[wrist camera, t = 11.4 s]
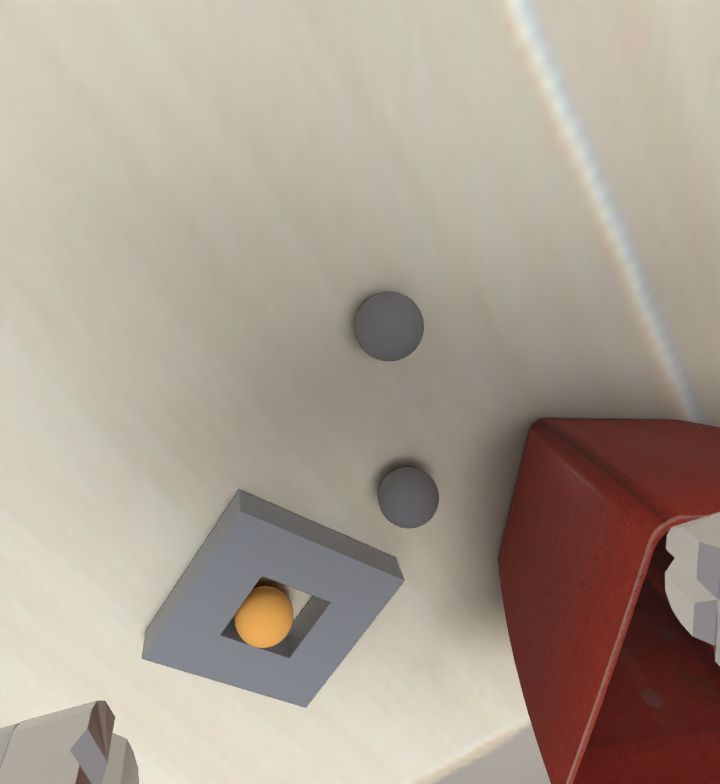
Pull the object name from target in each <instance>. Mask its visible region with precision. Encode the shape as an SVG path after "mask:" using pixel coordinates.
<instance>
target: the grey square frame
mask: <svg viewBox="0 0 720 784" xmlns="http://www.w3.org/2000/svg"><path fill="white" fill-rule="evenodd" d="M261 576H264V577H266V578H269V579H271V580H274V581H277V582H279V583H282V584H285V585H287V586H290V587H292V588H295V589H298V590H300V591H303V592H305V593H308V594H311V595H313V596H312V598H311V599H310V600H309V602H308V603H307V604H306V606H305V607H304V608H303V610H302V611H301V612H300V614H299V615H298V617H297V618H296V619H295V621H294V622H293V623H292V626H291V629H290V631H289V633H288V634H287V636H286V637H285V638H284V639H283V640H282V641H280V642H279V643H278V644H276V645H274V646H271V647H267V648H258V647H254V646H251V645H249V644H248V643H246V642H245V641H244V640H243V639H242V638H241V637H240V635H239V634H238V632H237V630H236V626H235V613H236V612H237V610H238V609H239V608H240V606H241V605H242V603H243V602H244V600H245V599H246V598H247V596H248V595H249V593H250V592H251V590H252V589H253V588H254V586H255V585H256V583H257V582H258V580H259V579H260V578H261ZM404 581H405V580H404V578H403V575H402V572H401V570H400V567H399V565H398V562H397V560H396V558H395V557H393V556H391V555H388V554H386V553H384V552H381V551H379V550H377V549H374V548H372V547H370V546H368V545H365V544H363V543H361V542H358V541H356V540H354V539H352V538H349V537H347V536H345V535H342V534H340V533H338V532H336V531H333V530H331V529H329V528H326V527H324V526H322V525H320V524H317V523H315V522H313V521H310V520H308V519H306V518H303V517H301V516H299V515H297V514H294V513H292V512H290V511H287V510H285V509H283V508H281V507H278V506H276V505H274V504H271V503H269V502H267V501H265V500H262V499H260V498H258V497H255V496H253V495H251V494H249V493H246V492H244V491H242V490H238V492H237V493H236V495H235V496H234V498H233V499H232V501H231V502H230V504H229V505H228V507H227V508H226V510H225V511H224V513H223V514H222V516H221V517H220V519H219V520H218V522H217V523H216V525H215V527H214V528H213V530H212V531H211V533H210V534H209V536H208V537H207V539H206V540H205V542H204V543H203V545H202V546H201V548H200V549H199V551H198V552H197V554H196V555H195V557H194V558H193V560H192V561H191V563H190V564H189V566H188V567H187V569H186V570H185V572H184V573H183V575H182V576H181V578H180V579H179V581H178V583H177V584H176V586H175V587H174V589H173V590H172V592H171V593H170V595H169V596H168V598H167V599H166V601H165V602H164V604H163V605H162V607H161V608H160V610H159V611H158V613H157V614H156V616H155V617H154V619H153V620H152V622H151V623H150V625H149V626H148V628H147V629H146V631H145V638H144V645H143V652H142V659H144V660H148V661H151V662H154V663H158V664H161V665H165V666H168V667H171V668H175V669H178V670H181V671H185V672H188V673H191V674H195V675H198V676H201V677H205V678H208V679H211V680H215V681H218V682H221V683H225V684H228V685H231V686H235V687H238V688H241V689H245V690H248V691H251V692H255V693H258V694H262V695H265V696H268V697H272V698H275V699H278V700H282V701H285V702H288V703H292V704H295V705H298V706H302V707H305V708H306V707H307V706H308V704H309V703H310V702H311V701H312V699H313V698H314V697H315V695H316V694H317V693H318V692H319V690H320V689H321V688H322V686H323V685H324V684H325V683H326V681H327V680H328V679H329V677H330V676H331V675H332V674H333V672H334V671H335V670H336V668H337V667H338V666H339V665H340V663H341V662H342V661H343V659H344V658H345V657H346V656H347V654H348V653H349V652H350V650H351V649H352V648H353V646H354V645H355V644H356V643H357V641H358V640H359V639H360V637H361V636H362V635H363V634H364V632H365V631H366V630H367V628H368V627H369V626H370V625H371V623H372V622H373V621H374V619H375V618H376V617H377V616H378V614H379V613H380V612H381V610H382V609H383V608H384V607H385V605H386V604H387V603H388V601H389V600H390V599H391V598H392V596H393V595H394V594H395V592H396V591H397V590H398V589H399V587H400V586H401V585H402V583H403V582H404Z"/></svg>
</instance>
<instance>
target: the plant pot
mask: <svg viewBox="0 0 720 784" xmlns="http://www.w3.org/2000/svg"><path fill="white" fill-rule="evenodd" d="M718 512H720V428H718V427H713V426H708V425H702V424H697V423H691V422H686V421H679V420H628V419H541V420H539V421H537V422H536V423H535V424H534V425H533V426H532V428H531V429H530V432H529V435H528V439H527V443H526V447H525V452H524V456H523V459H522V463H521V468H520V472H519V476H518V480H517V485H516V489H515V493H514V497H513V501H512V505H511V509H510V513H509V517H508V521H507V525H506V529H505V534H504V538H503V542H502V546H501V550H500V554H499V572H500V581H501V589H502V596H503V603H504V610H505V615H506V621H507V627H508V632H509V637H510V642H511V647H512V651H513V656H514V660H515V665H516V668H517V672H518V676H519V680H520V684H521V688H522V692H523V696H524V699H525V703H526V707H527V710H528V714H529V717H530V720H531V723H532V727H533V730H534V733H535V736H536V740H537V742H538V746H539V749H540V752H541V755H542V758H543V761H544V764H545V767H546V770H547V773H548V776H549V779H550V782H551V784H720V666H719V665H718V664H717V663H716V662H715V655H714V645H712V644H709V643H707V642H705V641H702V640H700V639H698V638H695V637H693V636H692V635H691V634H690V633H689V632H688V631H687V630H686V628H685V627H684V626H683V625H682V624H681V623H680V621H679V620H678V618H677V616H676V615H675V613H674V612H673V610H672V608H671V605H670V603H669V600H668V597H667V594H666V591H665V572H666V570H667V569H668V567H669V566H670V564H671V563H672V561H673V560H674V559H675V558H674V557H673V556H672V555H671V554H670V553H669V552H668V551H667V550H666V540H667V534H668V532H669V531H670V529H671V527H673V526H676V525H680V524H683V523H686V522H689V521H692V520H696V519H699V518H702V517H705V516H708V515H712V514H715V513H718Z"/></svg>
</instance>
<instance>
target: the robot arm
mask: <svg viewBox="0 0 720 784" xmlns="http://www.w3.org/2000/svg"><path fill="white" fill-rule="evenodd" d="M666 550H667V551H668V552H669V553H670V554H671V555H672V556H673V557H674V558H675V559H674V560H673V561H672V563H671V564H670V566H669V567H668V569H667V570H666V572H665V591H666V594H667V597H668V600H669V603H670V605H671V608H672V610H673V612H674V613H675V615H676V616H677V618H678V620H679V621H680V623H681V624H682V625H683V626H684V627H685V628H686V630H687V631H688V632H689V633H690V634H691V635H692V636H693V637H695V638H698V639H700V640H702V641H705V642H707V643H709V644H712V645H714V655H715V662H716V663H717V664H718V665H719V666H720V512H718V513H715V514H712V515H708V516H705V517H702V518H699V519H696V520H692V521H689V522H686V523H683V524H680V525H676V526H673V527H671V529H670V531H669V532H668V534H667V540H666ZM114 720H115V716H114V714H113V713H112V711H111V710H110V708H109V706H108V705H107V703H106V701H94V702H91V703H87V704H83V705H80V706H76V707H72V708H69V709H65V710H61V711H58V712H54V713H51V714H47V715H43V716H40V717H36V718H32V719H29V720H25V721H21V723H17V724H13V725H10V726H6V727H2V728H0V784H139V776H138V767H137V763H136V759H135V756H134V752H133V750H132V748H131V746H130V744H129V742H128V740H127V739H126V738H123V737H121V736H119V735H116V734H114V733H112V732H113V726H114Z"/></svg>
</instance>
